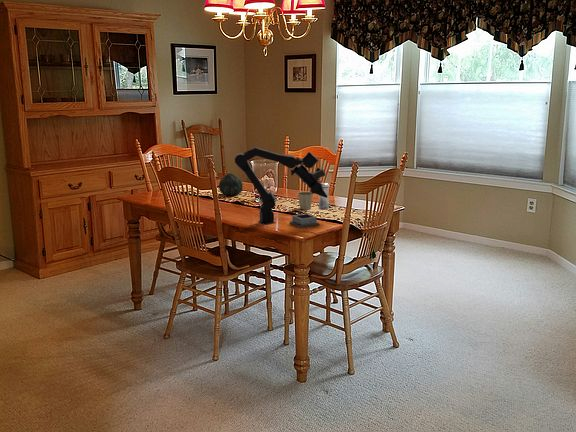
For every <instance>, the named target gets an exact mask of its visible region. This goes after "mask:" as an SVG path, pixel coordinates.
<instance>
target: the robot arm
mask: <svg viewBox="0 0 576 432" xmlns="http://www.w3.org/2000/svg"><path fill="white" fill-rule="evenodd" d="M254 157H260V158H264V159H267V160H269V161H274V162H277V163H278V164H280V165H283V166H284V167H286V168H288V169H290V174H291V176H293V175H294V174H295V175H296V176H297V177H298V178H300V180H302V182H303V183H304V184H305V185H306V186H307V187H308V188H309V190H310V191H309V192H312V193H313V195H314V194H315V195H318V196H319V195H320V196H323V197H325V198H327V197H328V196H327V195H326V193H325V192H324V190H323V189H322V184H321V183H322V181H321V179H320V178H322V177H325V176H326V173H325V171H324V169H323V168H320V167H317V168H315V171H314V172H312V171H309V169H312V168H313V167H314V166H315V165H316V164H317V163H318V162H319V161H320V160H319V159H318V158H317V157H316V156H315V155H314V154H313V153H311V152H310V151H308V152H307V153H306V154H305V155H304V157H303V158H301V157H300V158H299V157H296V156H295V155H292V154H281V153H276V152H273V151H270V150H266V149H264V148H263V149H262V148H259V147H257V146H254V147H253V148H251V149H249V150H247V151H244V152H239V153H237V155H236V156H235V157H234V163H235V164H236V166H237V167H238V168H239V169H240V170H241V171H243V172H244V173H245V174H246V176H247V178H248V179H249V180H250V182H251V184H252V185H253V187H254V188H255V189H256V191H257V192H258V194H259V196H260V199H261V201H262V203H261V205H260V209H259V212H258V213H259V220H258V223H259V224H262V225H268V224H274V223H275V214H274V210H273V209H275V207H276V203H277V202H276V196H275V195H274V194H273V191H272V190H270V191H268V190H267V189H266V188H265V186H264V185H263V183H262V182H261V180H260V178H259V177H258V175H256V172H255V171H254V170H253V168H252V165H251V164H250V160H251V159H253V158H254Z"/></svg>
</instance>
